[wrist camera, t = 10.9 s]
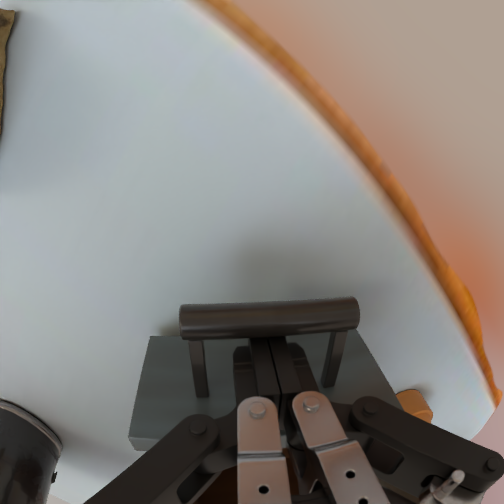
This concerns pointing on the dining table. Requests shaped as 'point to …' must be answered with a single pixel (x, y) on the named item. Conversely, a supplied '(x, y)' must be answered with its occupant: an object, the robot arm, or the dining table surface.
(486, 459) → the robot arm
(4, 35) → the rock
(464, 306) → the dining table surface
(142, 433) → the drawer
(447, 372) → the dining table surface
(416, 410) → the orange domed cylinder
